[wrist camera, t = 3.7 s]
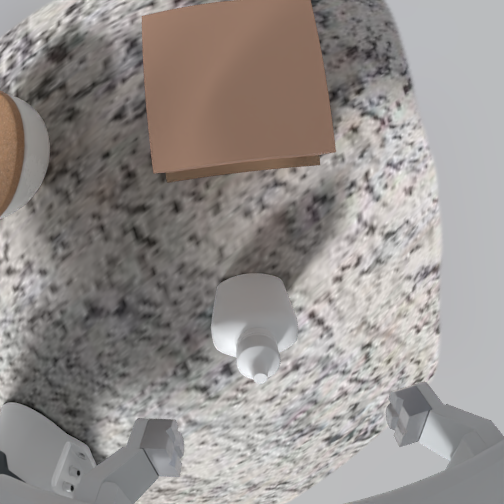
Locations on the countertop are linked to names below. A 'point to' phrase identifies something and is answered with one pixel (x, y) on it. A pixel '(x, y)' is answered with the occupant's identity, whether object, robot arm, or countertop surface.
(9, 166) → the lidded jar
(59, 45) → the countertop surface
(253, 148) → the terracotta top block
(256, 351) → the eye dropper bottle
